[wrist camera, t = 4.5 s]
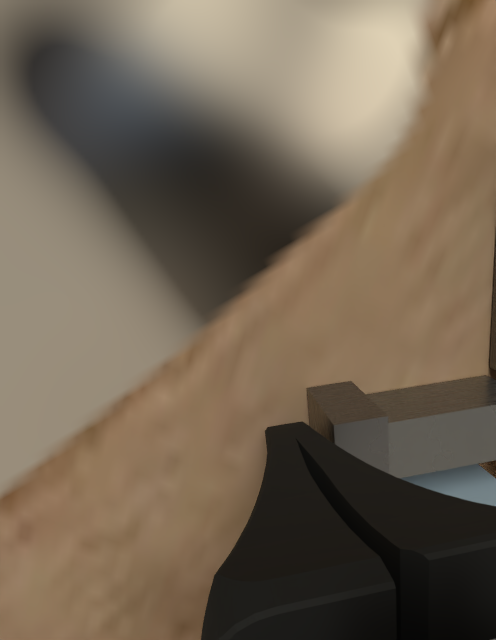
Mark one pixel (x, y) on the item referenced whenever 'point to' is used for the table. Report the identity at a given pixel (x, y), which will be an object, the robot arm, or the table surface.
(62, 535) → the table surface
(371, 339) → the table surface
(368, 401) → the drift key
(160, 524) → the table surface
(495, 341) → the socket block
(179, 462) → the table surface
